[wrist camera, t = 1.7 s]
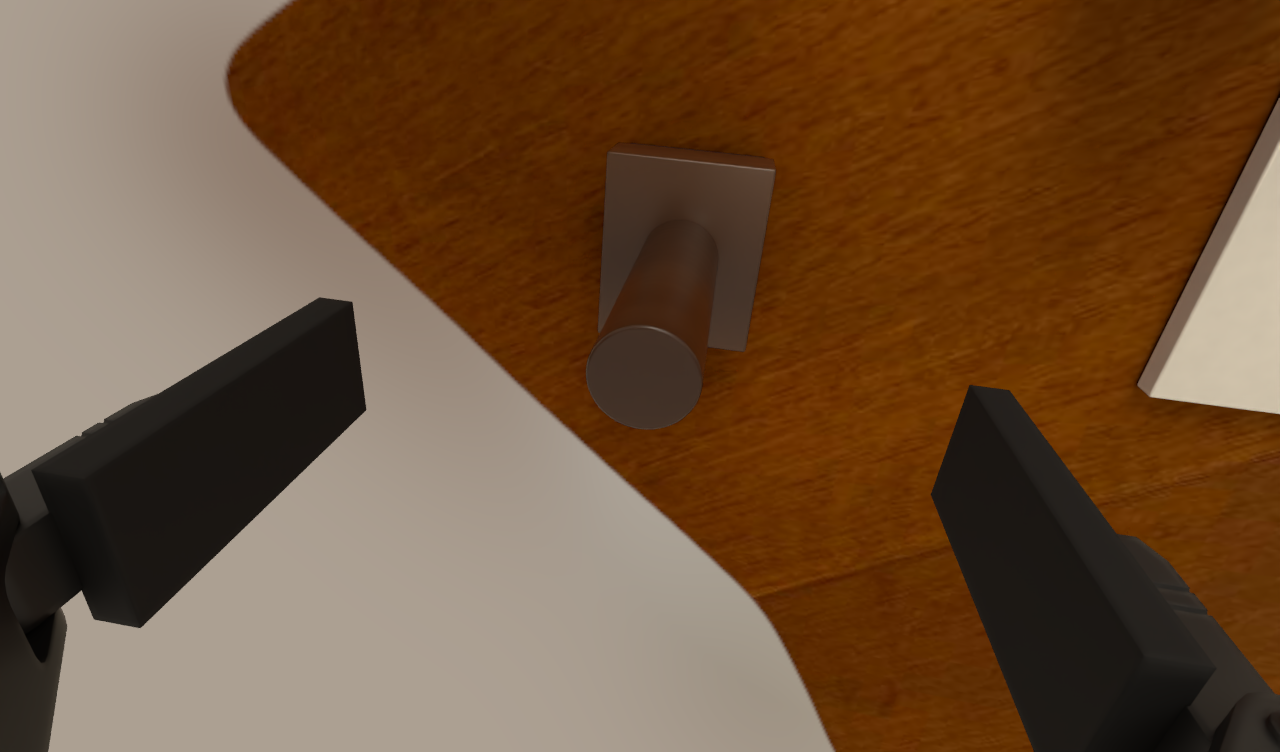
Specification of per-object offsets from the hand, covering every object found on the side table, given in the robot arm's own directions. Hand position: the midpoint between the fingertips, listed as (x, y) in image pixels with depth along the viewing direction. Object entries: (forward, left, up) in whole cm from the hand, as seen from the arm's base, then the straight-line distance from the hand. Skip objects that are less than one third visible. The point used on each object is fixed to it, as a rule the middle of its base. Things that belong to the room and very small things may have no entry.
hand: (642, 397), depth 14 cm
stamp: (0, 0, -13) cm, 13 cm away
